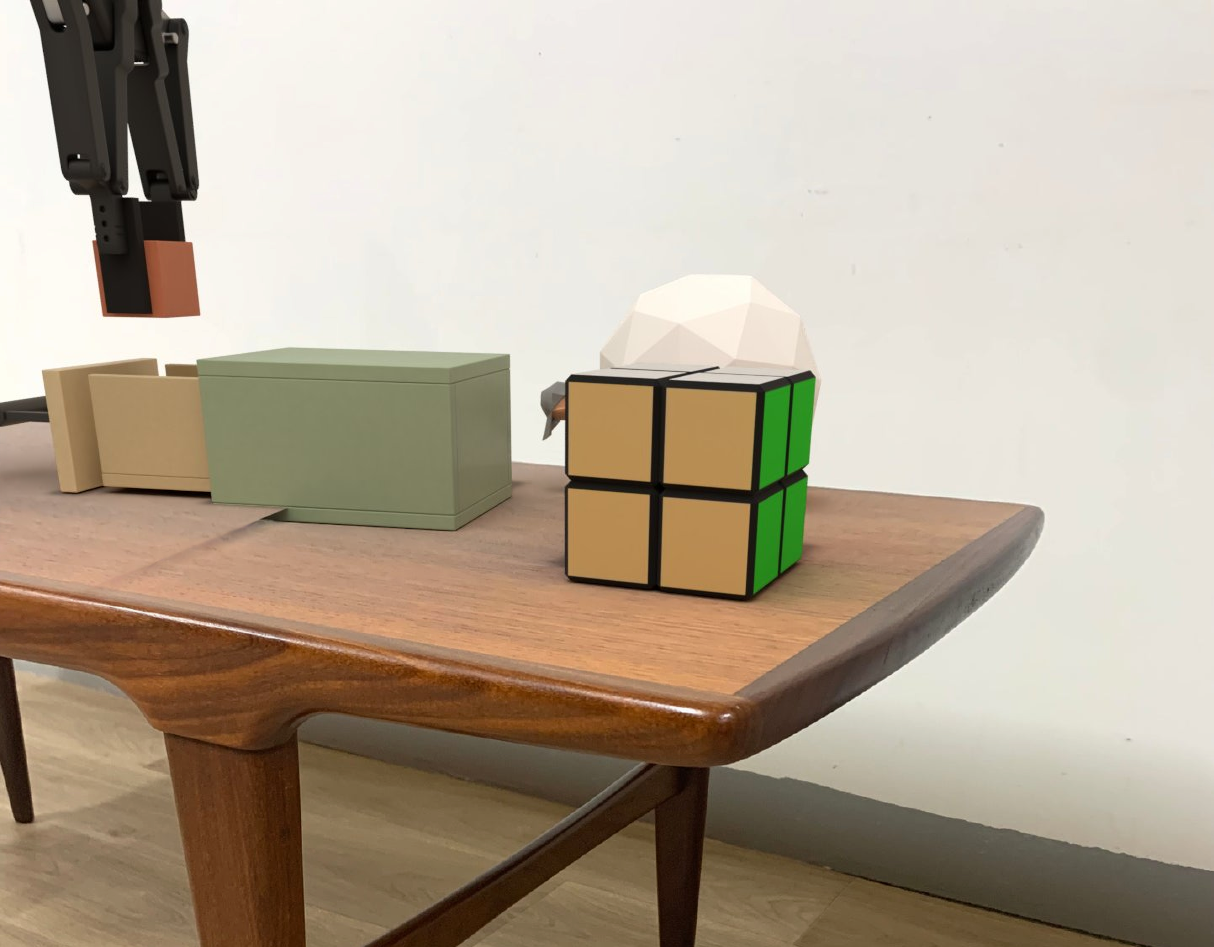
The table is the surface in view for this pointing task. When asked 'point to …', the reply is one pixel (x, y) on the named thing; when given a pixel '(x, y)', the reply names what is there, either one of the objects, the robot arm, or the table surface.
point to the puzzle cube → (686, 476)
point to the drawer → (121, 425)
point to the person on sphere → (702, 332)
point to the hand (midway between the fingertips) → (151, 311)
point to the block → (164, 280)
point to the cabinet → (359, 434)
